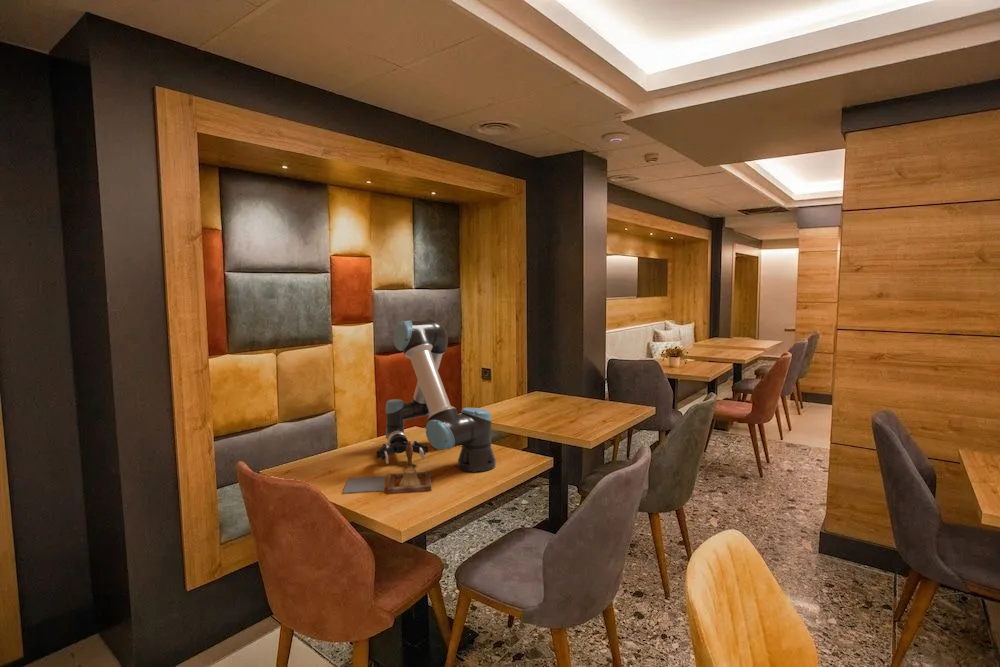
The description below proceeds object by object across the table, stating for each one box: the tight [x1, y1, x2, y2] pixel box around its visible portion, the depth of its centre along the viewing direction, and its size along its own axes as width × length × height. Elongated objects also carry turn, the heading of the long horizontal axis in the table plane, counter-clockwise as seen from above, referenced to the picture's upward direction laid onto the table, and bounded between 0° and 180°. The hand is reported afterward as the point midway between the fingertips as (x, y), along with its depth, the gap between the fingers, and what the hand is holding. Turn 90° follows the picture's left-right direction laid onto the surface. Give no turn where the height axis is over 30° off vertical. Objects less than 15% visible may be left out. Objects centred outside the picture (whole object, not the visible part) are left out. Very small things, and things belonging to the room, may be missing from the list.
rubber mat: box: [342, 475, 388, 494], centre depth 185 cm, size 14×14×1 cm
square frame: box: [387, 471, 432, 494], centre depth 186 cm, size 15×15×2 cm
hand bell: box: [398, 440, 423, 487], centre depth 185 cm, size 8×8×16 cm
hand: (405, 458), depth 195 cm, fingers open, 13 cm apart
